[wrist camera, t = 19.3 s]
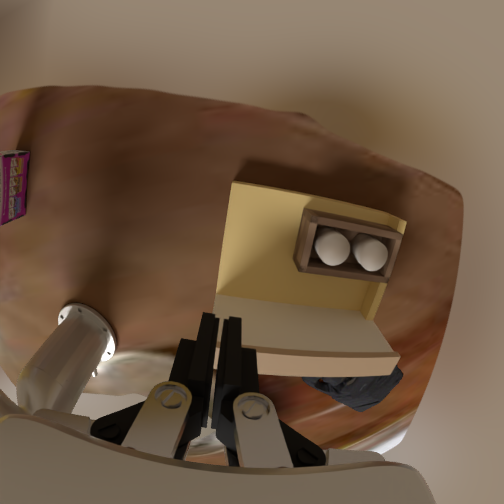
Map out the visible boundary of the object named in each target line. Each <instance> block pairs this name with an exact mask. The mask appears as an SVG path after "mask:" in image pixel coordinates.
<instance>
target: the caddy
mask: <svg viewBox="0 0 504 504" xmlns="http://www.w3.org/2000/svg"><path fill="white" fill-rule="evenodd" d="M402 237H403V234H402V233H400V232H398V231H396V230H395V229H393V228H391V227H389V226H388V225H384V224H379V223H375V222H371V221H366V220H362V219H357V218H352V217H348V216H343V215H338V214H333V213H328V212H323V211H318V210H313V209H307V208H303V212H302V217H301V222H300V226H299V231H298V236H297V240H296V245H295V249H294V254H293V261H294V263H295V265H296V267H297V270H298V272H302V273H310V274H317V275H325V276H333V277H340V278H348V279H356V280H364V281H372V282H380V283H388V281H389V278H390V275H391V272H392V269H393V266H394V263H395V260H396V257H397V254H398V250H399V247H400V244H401V241H402Z"/></svg>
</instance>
